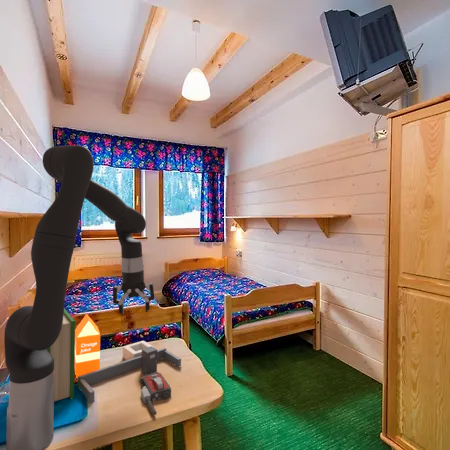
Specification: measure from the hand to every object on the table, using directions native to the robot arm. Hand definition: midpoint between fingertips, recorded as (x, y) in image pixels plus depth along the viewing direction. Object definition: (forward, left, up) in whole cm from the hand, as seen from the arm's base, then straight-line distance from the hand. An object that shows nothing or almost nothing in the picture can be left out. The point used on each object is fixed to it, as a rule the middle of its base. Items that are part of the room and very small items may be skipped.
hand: (134, 312), depth 108 cm
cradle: (-2, -3, -21) cm, 22 cm away
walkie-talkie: (-2, -19, -22) cm, 29 cm away
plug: (+4, -4, -21) cm, 22 cm away
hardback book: (-24, +6, -22) cm, 33 cm away
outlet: (+6, +7, -21) cm, 23 cm away
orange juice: (-13, +10, -22) cm, 27 cm away
